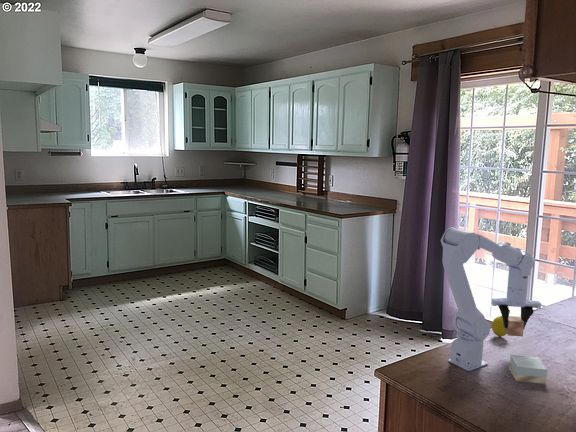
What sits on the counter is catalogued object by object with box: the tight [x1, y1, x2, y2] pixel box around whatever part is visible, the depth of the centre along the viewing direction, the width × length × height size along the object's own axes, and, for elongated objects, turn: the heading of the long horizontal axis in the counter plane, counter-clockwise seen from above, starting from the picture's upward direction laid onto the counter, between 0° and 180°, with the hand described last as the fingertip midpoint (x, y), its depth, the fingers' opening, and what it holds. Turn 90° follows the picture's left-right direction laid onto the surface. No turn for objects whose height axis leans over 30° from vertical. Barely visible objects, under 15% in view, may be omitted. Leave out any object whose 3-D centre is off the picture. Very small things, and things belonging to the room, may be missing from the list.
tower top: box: [509, 354, 548, 379], centre depth 140 cm, size 8×8×2 cm
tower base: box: [508, 361, 547, 385], centre depth 140 cm, size 8×8×2 cm
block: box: [504, 315, 525, 337], centre depth 153 cm, size 4×4×5 cm
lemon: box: [491, 315, 507, 338], centre depth 168 cm, size 6×6×8 cm
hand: (513, 327), depth 153 cm, fingers closed on block, 4 cm apart
